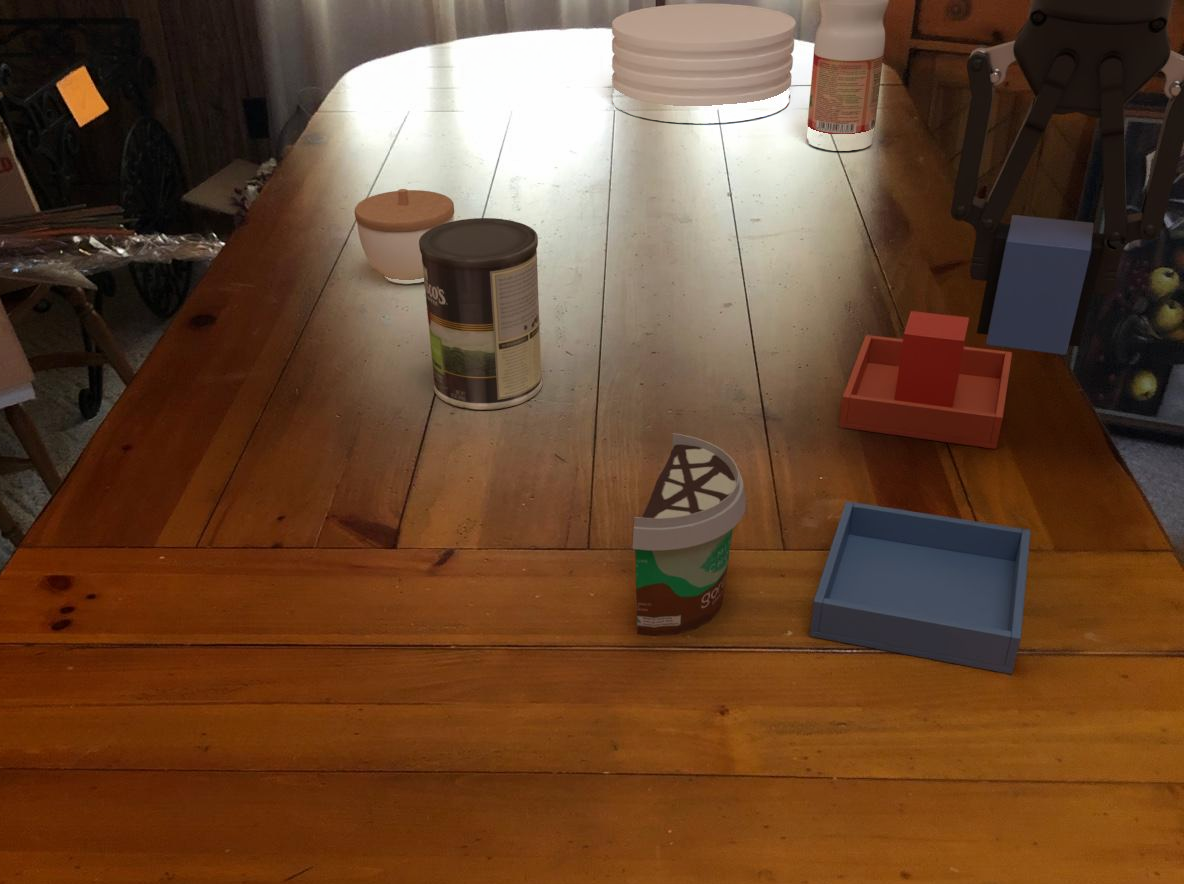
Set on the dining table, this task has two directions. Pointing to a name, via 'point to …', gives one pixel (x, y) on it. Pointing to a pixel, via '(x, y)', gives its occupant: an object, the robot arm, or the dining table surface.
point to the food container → (686, 538)
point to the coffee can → (483, 312)
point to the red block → (931, 359)
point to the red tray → (963, 424)
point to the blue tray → (924, 586)
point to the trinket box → (400, 229)
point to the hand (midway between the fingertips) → (1028, 330)
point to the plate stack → (702, 54)
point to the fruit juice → (847, 66)
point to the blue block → (1040, 284)
